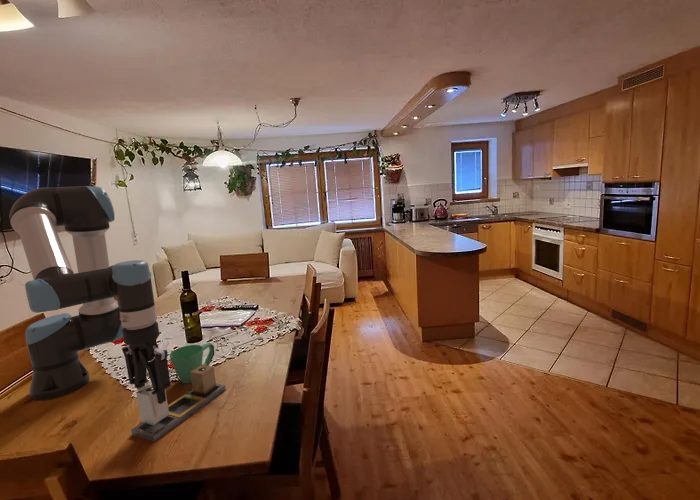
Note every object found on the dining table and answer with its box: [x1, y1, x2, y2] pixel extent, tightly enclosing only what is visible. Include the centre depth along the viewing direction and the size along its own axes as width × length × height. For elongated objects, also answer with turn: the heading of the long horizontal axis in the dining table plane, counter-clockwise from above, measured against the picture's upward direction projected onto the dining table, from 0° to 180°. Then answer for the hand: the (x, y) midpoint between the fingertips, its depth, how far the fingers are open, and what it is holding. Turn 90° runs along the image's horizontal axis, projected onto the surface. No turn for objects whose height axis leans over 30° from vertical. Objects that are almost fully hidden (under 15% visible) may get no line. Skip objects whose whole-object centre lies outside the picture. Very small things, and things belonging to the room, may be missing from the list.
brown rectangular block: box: [190, 364, 217, 397], centre depth 104 cm, size 4×4×8 cm
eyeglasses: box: [208, 330, 264, 355], centre depth 141 cm, size 16×15×5 cm
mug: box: [169, 342, 215, 384], centre depth 116 cm, size 15×10×10 cm
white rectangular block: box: [136, 383, 169, 425], centre depth 89 cm, size 4×4×8 cm
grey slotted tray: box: [130, 383, 227, 443], centre depth 97 cm, size 8×24×2 cm, turn 156°
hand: (154, 411), depth 90 cm, fingers closed on white rectangular block, 4 cm apart
